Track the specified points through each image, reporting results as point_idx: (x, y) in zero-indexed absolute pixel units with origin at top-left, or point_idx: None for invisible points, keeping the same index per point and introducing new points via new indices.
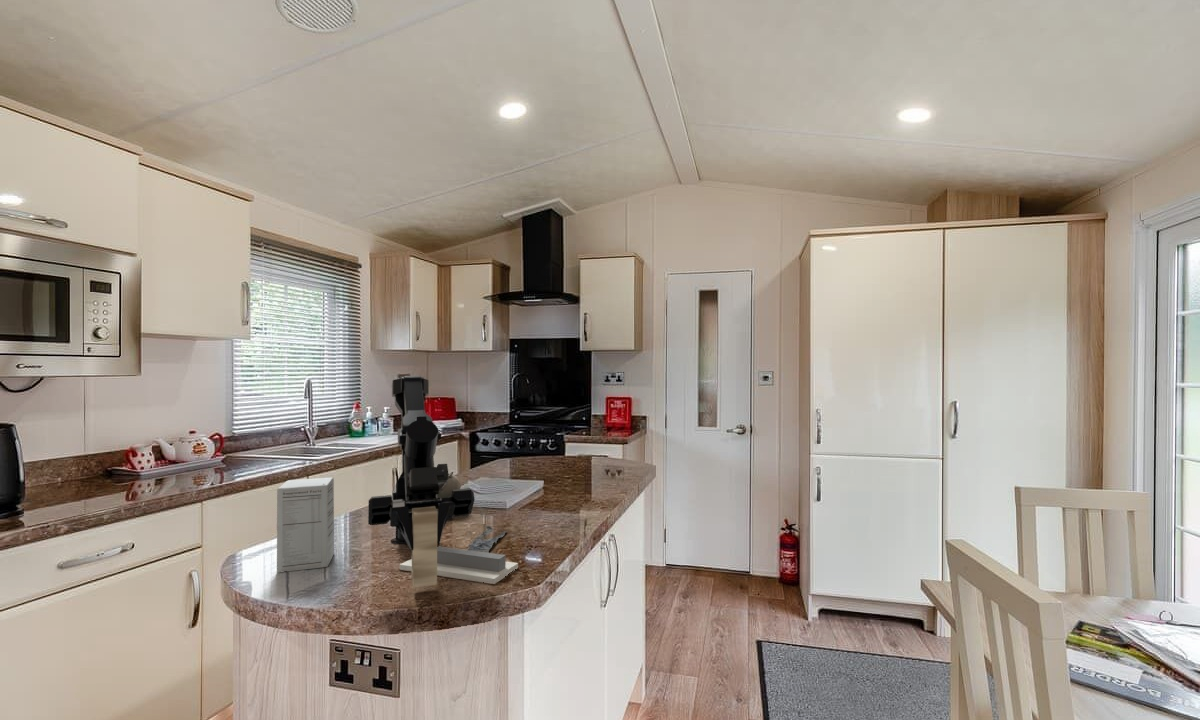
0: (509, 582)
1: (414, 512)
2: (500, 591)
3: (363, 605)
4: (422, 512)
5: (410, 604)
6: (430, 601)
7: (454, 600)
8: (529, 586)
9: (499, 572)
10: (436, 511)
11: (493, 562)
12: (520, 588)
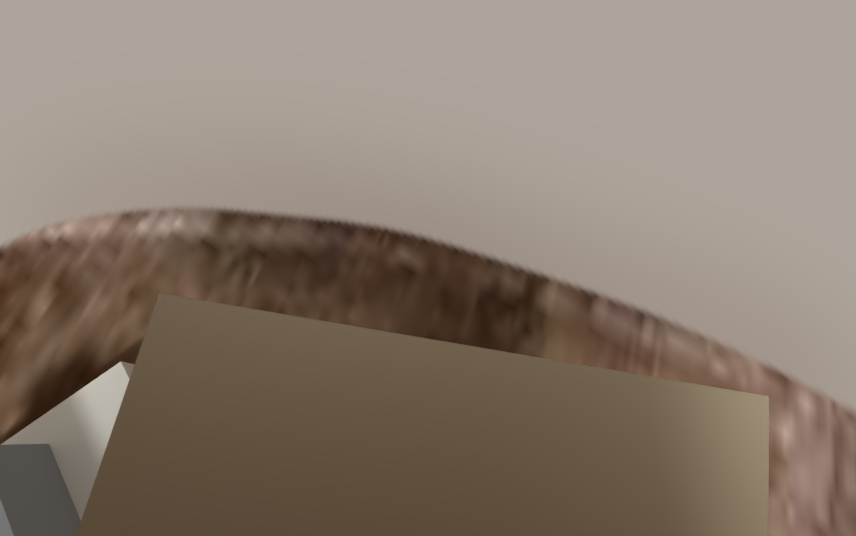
0: (74, 346)
1: (738, 531)
2: (165, 267)
3: (814, 490)
4: (515, 385)
5: (571, 354)
6: (474, 335)
7: (374, 283)
8: (42, 250)
9: (49, 436)
10: (180, 302)
11: (18, 478)
12: (83, 251)
